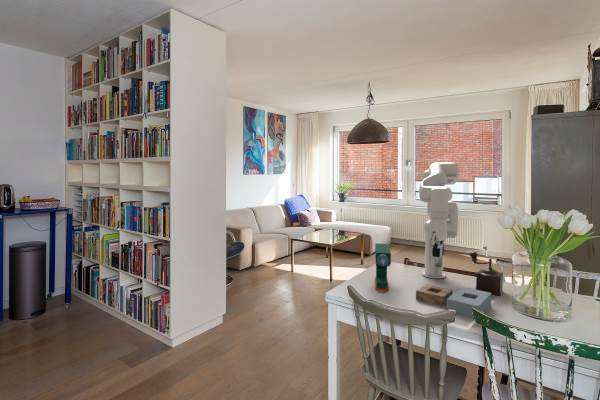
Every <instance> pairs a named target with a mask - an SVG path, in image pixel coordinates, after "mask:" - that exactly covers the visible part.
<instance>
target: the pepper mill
mask: <svg viewBox="0 0 600 400" xmlns="http://www.w3.org/2000/svg"><path fill="white" fill-rule="evenodd" d="M478 256H479V254H478V253H477V252H476V251H471V252H469V257H470V258H471V261H472V262H473V263H474V264H475V265H476V264H477V265H487V264H488V267H487V268H485V269H484V268H483V269H482V268H481V269H480V270H478V272H477V273H476V275H475V276H476V279H475V280H476V282H475V283H476V284H475V290H480V291H484V292H489V293H491V297H493V296H494V297H498V296H499V297H500V296H501V295H502V294H503V283H504V272H501V271H497V270H496V269H494V268H493V267H492V264H493V260H492V258H489V259H488V261H486V262H485V261H483V262H482V261H481V262H480V261H479V262H478ZM501 293H502V294H501Z"/></svg>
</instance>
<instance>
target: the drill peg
mask: <svg viewBox="0 0 600 400" xmlns="http://www.w3.org/2000/svg"><path fill="white" fill-rule="evenodd" d="M439 248H440V257H434V261H433V266H435V267H442V248H443V244H440V245H439Z"/></svg>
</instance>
